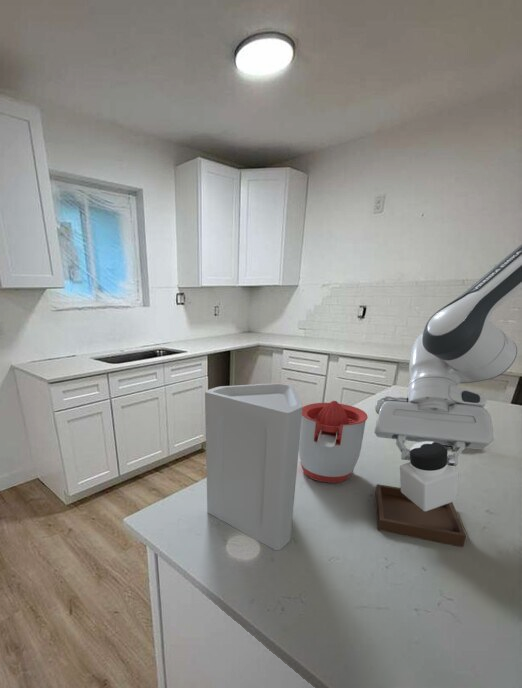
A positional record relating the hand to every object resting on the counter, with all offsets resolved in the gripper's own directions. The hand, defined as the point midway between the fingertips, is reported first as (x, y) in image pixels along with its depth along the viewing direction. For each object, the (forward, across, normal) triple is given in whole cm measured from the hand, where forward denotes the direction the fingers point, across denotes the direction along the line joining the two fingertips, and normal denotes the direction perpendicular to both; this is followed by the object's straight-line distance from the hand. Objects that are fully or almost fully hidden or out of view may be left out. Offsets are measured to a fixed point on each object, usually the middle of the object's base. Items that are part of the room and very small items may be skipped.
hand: (428, 462), depth 71 cm
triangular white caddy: (+16, -31, +3) cm, 35 cm away
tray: (+9, 0, +10) cm, 14 cm away
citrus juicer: (0, -19, +19) cm, 27 cm away
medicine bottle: (+6, +1, +5) cm, 8 cm away
